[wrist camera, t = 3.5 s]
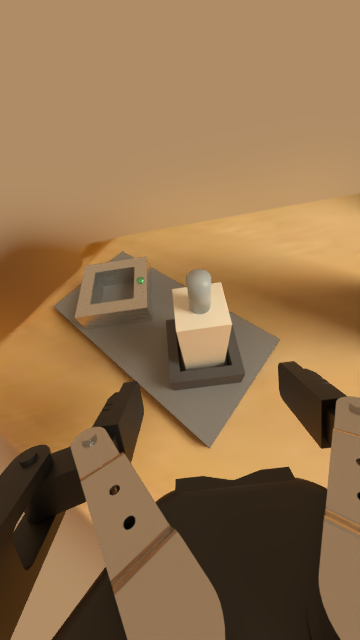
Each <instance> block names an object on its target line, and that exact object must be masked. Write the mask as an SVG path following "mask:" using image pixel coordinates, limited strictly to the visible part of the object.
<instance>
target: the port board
mask: <svg viewBox="0 0 360 640" xmlns="http://www.w3.org/2000/svg"><path fill="white" fill-rule="evenodd" d="M127 259H133V257H132V256H130V255H128V254H126V253H124V252H123V251H122V252H121V253H120V254H119V255H117V256H116V257H115V258H114V259H112V260H111V261H110V262H114V261H120V260H127ZM150 269H151V281H152V316H153V320H152V321H145V322H138V323H131V324H124V325H116V326H109V327H102V328H95V329H88V330H86V329H85V328H84V327H83V326H82V325H81V324H80V323H79V322H78V321H77V320H76V319H75V313H76V309H77V304H78V299H79V294H80V289H81V285H82V284H81V285H80V286H79V287H77V288H76V289H75V290H73V291H72V292H71V293H70V294H68V295H67V296H66V297H65V298H63V299H62V300H61V301H60V302H58V303H57V304H56V305H55V306H54V307H55V308H56V309H57V310H58V311H59V312H60V313H61V314H62V315H63V316H64V317H65V318H67V319H68V320H69V321H70V322H71V323H72V324H73V325H74V326H75V327H77V328H78V329H79V330H80V331H81V332H82V333H83V334H84V335H85V336H86V337H88V338H89V339H90V340H91V341H92V342H93V343H94V344H95V345H96V346H97V347H99V348H100V349H101V350H102V351H103V352H104V353H105V354H106V355H107V356H108V357H110V358H111V359H112V360H113V361H114V362H115V363H116V364H117V365H118V366H119V367H121V368H122V369H123V370H124V371H125V372H126V373H127V374H128V375H129V376H131V377H132V378H133V379H134V380H135V381H138V383H139V385H140V386H142V387H143V388H144V389H145V390H146V391H147V392H148V393H149V394H150V395H151V396H153V397H154V398H155V399H156V400H157V401H158V402H159V403H160V404H161V405H162V406H164V407H165V408H166V409H167V410H168V411H169V412H170V413H171V414H172V415H174V416H175V417H176V418H177V419H178V420H179V421H180V422H181V423H182V424H183V425H185V426H186V427H187V428H188V429H189V430H190V431H191V432H192V433H193V434H194V435H196V436H197V437H198V438H199V439H200V440H201V441H202V442H203V443H204V444H205V445H207V446H208V447H209V448H210V447H211V445H212V444H213V442H214V441H215V439H216V438H217V436H218V434H219V433H220V431H221V430H222V428H223V427H224V425H225V424H226V422H227V421H228V419H229V418H230V416H231V414H232V413H233V411H234V410H235V408H236V407H237V405H238V404H239V402H240V401H241V399H242V397H243V396H244V394H245V393H246V391H247V390H248V388H249V387H250V385H251V384H252V382H253V380H254V379H255V377H256V376H257V374H258V373H259V371H260V370H261V368H262V367H263V365H264V363H265V362H266V360H267V359H268V357H269V356H270V354H271V353H272V351H273V350H274V348H275V346H276V345H277V343H278V342H279V340H280V339H278V338H277V337H275V336H273V335H271V334H269V333H268V332H266V331H264V330H262V329H261V328H259V327H257V326H255V325H253V324H252V323H250V322H248V321H246V320H244V319H243V318H241V317H239V316H237V315H235V314H234V313H232V312H230V311H229V314H230V317H231V321H232V325H233V329H234V333H235V336H236V340H237V344H238V348H239V351H240V355H241V359H242V363H243V367H244V370H245V376H244V378H243V380H242V382H240V383H232V384H224V385H216V386H208V387H200V388H192V389H184V390H176V391H174V389H173V387H172V386H171V384H170V374H169V359H168V344H167V330H166V320H170V319H175V315H174V304H173V294H172V289H177V288H184V287H185V286H184V285H182V284H180V283H178V282H176V281H175V280H173V279H171V278H169V277H167V276H166V275H164V274H162V273H160V272H158V271H157V270H155V269H153V268H151V267H150ZM132 298H134V282H132V283H125V284H119V285H112V286H105V287H104V293H103V300H102V303H105V302H112V301H119V300H126V299H132ZM179 350H180V360H181V370H182V371H186V367H185V364H184V360H183V356H182V352H181V348H180V345H179ZM224 366H228V365H227V360H226V358H225V363H224Z"/></svg>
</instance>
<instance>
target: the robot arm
mask: <svg viewBox="0 0 360 640" xmlns="http://www.w3.org/2000/svg"><path fill="white" fill-rule="evenodd" d="M278 375H279V391H280V395H281V397H282V399H283V401H284V402H285V403H286V404H287V406H288V407H289V408H290V409H291V411H292V412H293V413H294V415H295V416H296V417H297V418H298V420H299V421H300V422H301V423H302V425H303V426H304V427H305V429H306V430H307V431H308V432H309V434H310V435H311V436H312V437H313V439H314V440H315V441H316V443H317V444H318V445H319V446H320V448H321V449H322V448H331V456H330V467H329V478H328V489H326V488H324V487H323V486H320V485H318V484H316V483H313V482H310V481H308V480H304V479H300V478H295V477H294V476H293V474H292V472H291V470H290V468H289V467H283V468H274V469H265V470H259V471H257V472H254V473H251V474H249V475H246V476H244V477H241V478H239V479H236V480H226V479H219V478H212V477H205V476H200V477H191V478H182V479H176V488H175V490H174V491H172V492H170V493H168V494H166V495H164V496H163V497H161V498H160V499H159V500H157V501H156V502H155V501H154V500H153V498H152V496H151V495H150V493H149V492H148V490H147V489H146V487H145V485H144V484H143V482H142V481H141V479H140V477H139V476H138V474H137V473H136V471H135V469H134V468H133V466H132V465H131V461H132V457H133V453H134V449H135V446H136V442H137V438H138V434H139V431H140V427H141V423H142V419H143V415H144V407H143V401H142V397H141V392H140V387H139V383H138V381H134V382H126V383H124V384H123V386H122V387H121V389H120V391H119V392H116V393H114V394H113V395H112V396H111V397H110V398H109V399H108V400H107V402H106V404H105V406H104V407H103V409H102V411H101V413H100V414H99V416H98V418H97V420H96V421H95V423H94V425H93V426H92V428H89V429H87V430H85V431H83V432H82V433H80V434H79V435H78V436H77V437H76V438H75V439H74V440H73V442H72V444H71V447H68V448H66V449H63V450H60V451H57V452H54V453H52V454H51V452H50V449H49V447H48V446H47V445H38V446H35V447H32V448H30V449H28V450H26V451H24V452H23V453H21V454H20V455H18V456H17V457H16V458H15V459H14V460H13V461H12V462H11V463H10V464H9V466H8V467H7V468H6V469H5V470H4V472H3V473H2V474H1V475H0V640H10V639H11V637H12V634H13V632H14V630H15V627H16V625H17V623H18V620H19V618H20V616H21V614H22V611H23V609H24V607H25V604H26V602H27V600H28V597H29V595H30V593H31V590H32V588H33V586H34V583H35V581H36V579H37V577H38V574H39V572H40V570H41V567H42V565H43V563H44V560H45V558H46V556H47V554H48V551H49V549H50V546H51V544H52V542H53V540H54V537H55V535H56V533H57V530H58V528H59V526H60V524H61V521H62V519H63V517H64V514H65V512H66V510H68V509H70V508H73V507H75V506H77V505H79V504H82V503H84V502H86V501H87V505H88V508H89V511H90V515H91V518H92V521H93V525H94V528H95V531H96V535H97V538H98V542H99V545H100V548H101V551H102V555H103V558H104V561H105V565H106V567H105V568H104V570H103V571H102V572H101V574H100V575H99V576H98V578H97V579H96V580H95V582H94V583H93V584H92V586H91V587H90V588H89V590H88V591H87V593H86V594H85V595H84V597H83V598H82V599H81V601H80V602H79V603H78V605H77V606H76V607H75V609H74V610H73V612H72V613H71V614H70V616H69V617H68V618H67V620H66V621H65V622H64V624H63V625H62V626H61V628H60V629H59V630H58V632H57V633H56V635H55V636H54V637H53V639H52V640H360V398H358V397H347V396H346V395H345V394H343V393H342V392H341V391H339V390H338V389H337V388H335V387H334V386H333V385H332V384H329V382H328V381H326V380H325V379H323V378H322V377H321V376H320V375H318V374H317V373H315V372H313V371H311V370H308V369H303V368H302V367H301V366H299V365H298V364H297V363H296V362H294V361H291V362H283V363H279V365H278ZM23 512H24V513H25V515H24V516H23V518H22V520H21V521H20V523H19V524H18V526H17V528H16V529H15V526H16V524H17V522H18V520H19V519H20V517H21V515H22V514H23ZM14 529H15V531H14ZM13 532H14V533H13Z"/></svg>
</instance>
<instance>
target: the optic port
mask: <svg viewBox="0 0 360 640" xmlns="http://www.w3.org/2000/svg"><path fill="white" fill-rule="evenodd" d="M132 282H134V298H132V299H126V300H119V301H112V302H105V303H102V300H103V293H104V287H105V286H112V285H119V284H125V283H132ZM75 319H76V320H77V321H78V322H79V323H80V324H81V325H82V326H83V327H84V328H85V329H86V330H88V329H95V328H102V327H109V326H116V325H124V324H131V323H138V322H145V321H152V320H153V316H152V281H151V269H150V266H149V263H148V260H147V256H146V257H140V258H133V259H127V260H120V261H114V262H107V263H100V264H94V265H87V266H85V270H84V275H83V280H82V285H81V289H80V294H79V299H78V304H77V309H76V313H75Z"/></svg>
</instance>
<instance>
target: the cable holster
mask: <svg viewBox="0 0 360 640" xmlns="http://www.w3.org/2000/svg"><path fill="white" fill-rule="evenodd" d="M230 318H231V317H230ZM231 322H232V321H231ZM166 330H167V344H168V359H169V374H170V384H171V386H172V387H173V389H174V391H176V390H184V389H192V388H200V387H208V386H216V385H224V384H232V383H240V382H242V380H243V378H244V376H245V370H244V367H243V363H242V359H241V355H240V351H239V348H238V344H237V340H236V336H235V333H234V329H233V325H232V327H231V332H230V337H229V343H228V348H227V353H226V360H227V365H228V366H221V367H213V368H206V369H198V370H190V371H182V370H181V360H180V350H179V341H178V337H177V333H176V325H175V319H170V320H166Z"/></svg>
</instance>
